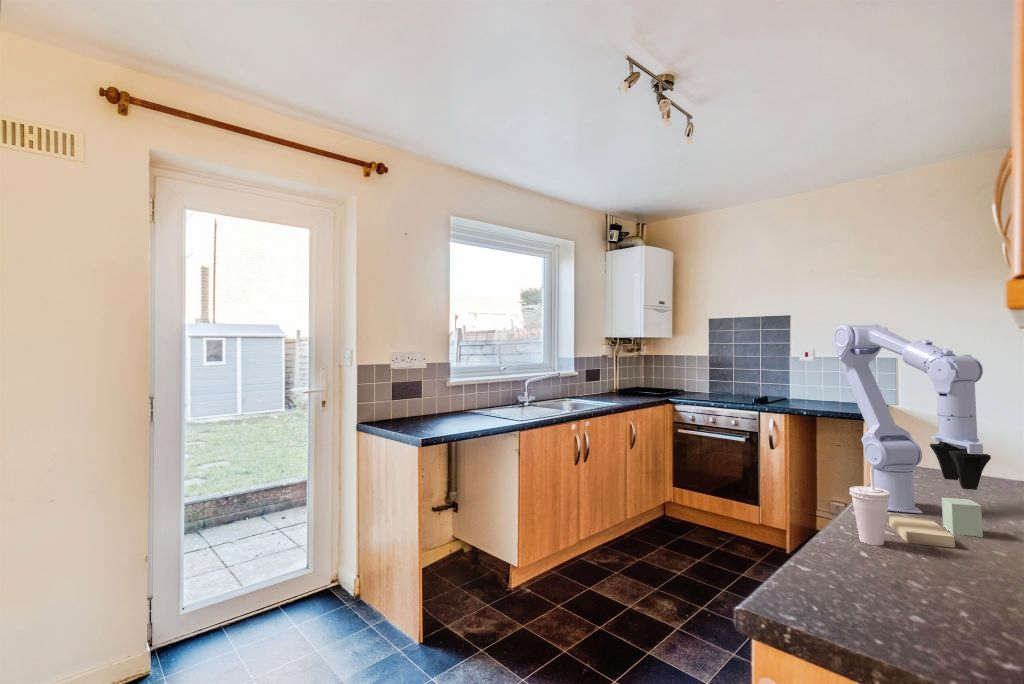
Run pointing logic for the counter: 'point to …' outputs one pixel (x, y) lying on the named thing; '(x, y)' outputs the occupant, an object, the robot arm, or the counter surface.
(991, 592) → the counter surface
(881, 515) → the smoothie
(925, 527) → the oak slab
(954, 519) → the sage block
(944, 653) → the counter surface
